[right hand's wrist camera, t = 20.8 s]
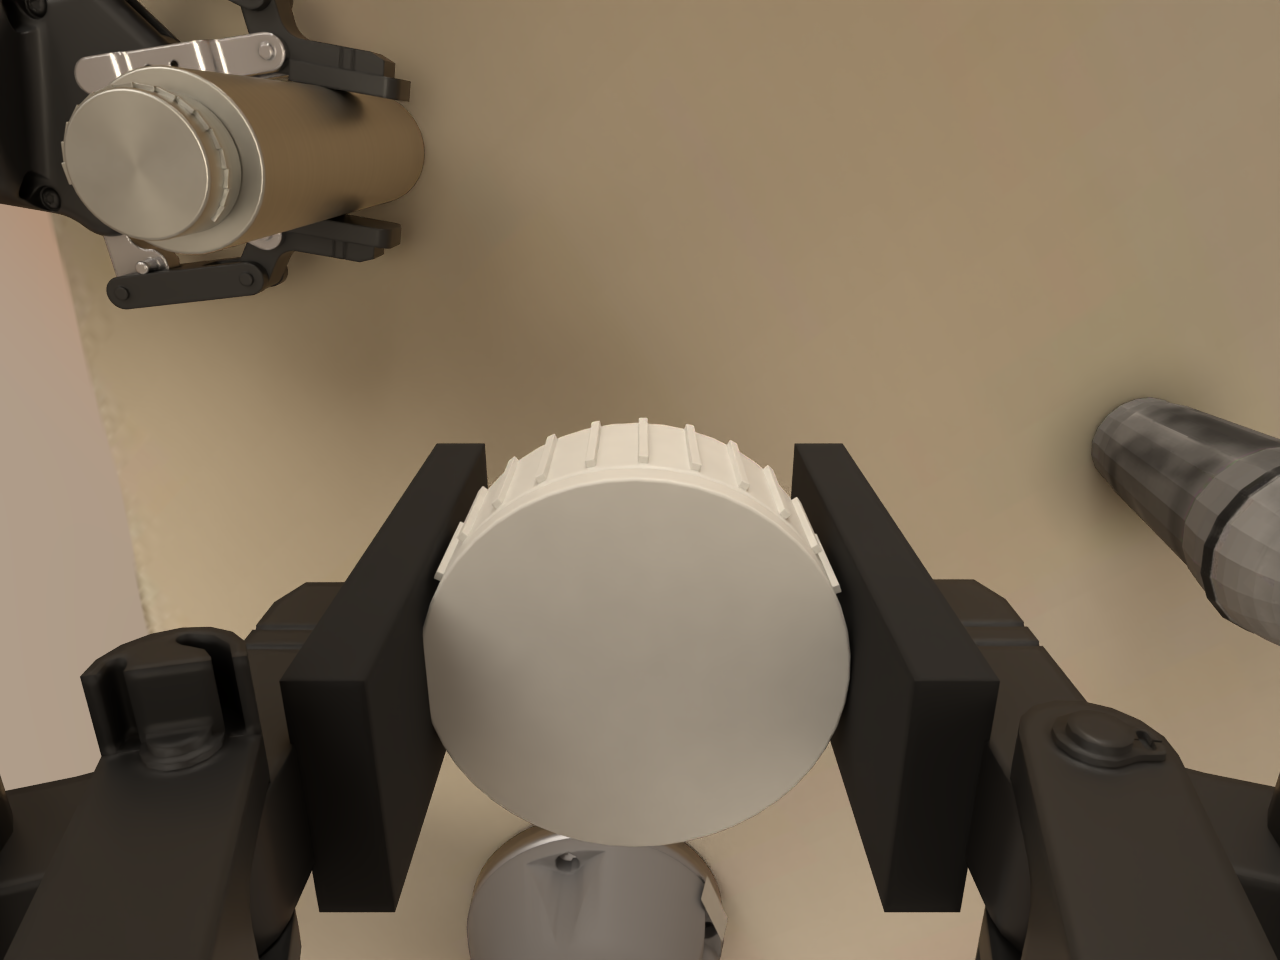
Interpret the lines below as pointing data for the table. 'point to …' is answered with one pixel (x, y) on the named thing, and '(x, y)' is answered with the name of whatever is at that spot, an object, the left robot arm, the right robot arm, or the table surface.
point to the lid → (635, 638)
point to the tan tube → (233, 156)
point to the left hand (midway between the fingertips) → (398, 166)
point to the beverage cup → (1203, 500)
